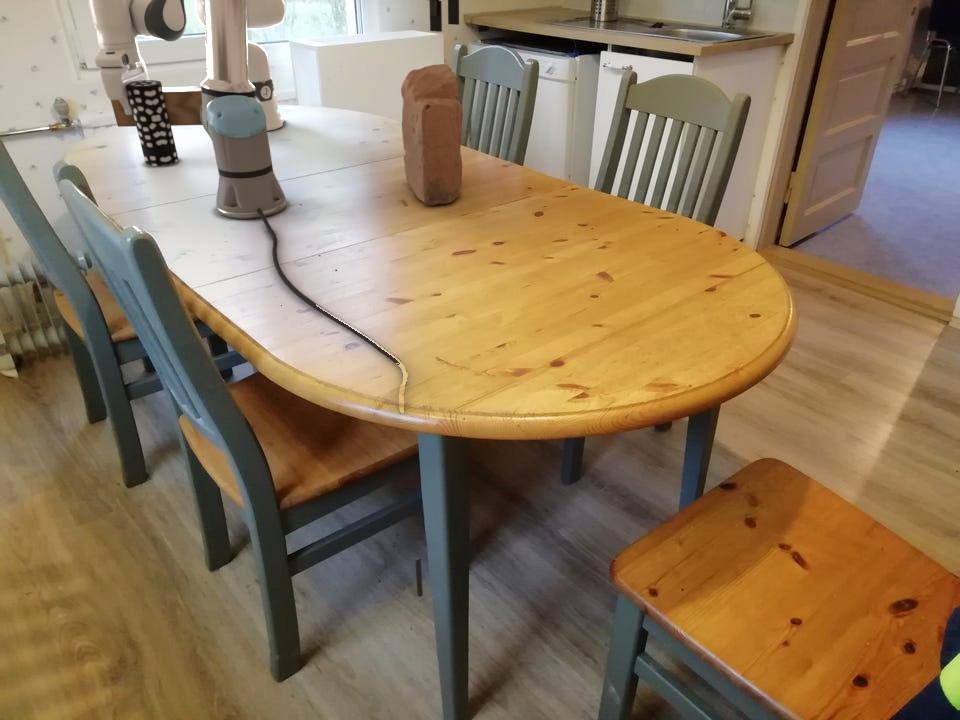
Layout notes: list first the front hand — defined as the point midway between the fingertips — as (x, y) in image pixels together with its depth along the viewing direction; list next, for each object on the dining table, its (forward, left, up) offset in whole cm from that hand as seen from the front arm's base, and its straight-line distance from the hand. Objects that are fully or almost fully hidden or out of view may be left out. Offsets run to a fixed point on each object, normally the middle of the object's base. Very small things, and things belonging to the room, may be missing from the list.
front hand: (445, 27), depth 170 cm
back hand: (+41, +72, -21) cm, 85 cm away
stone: (-19, +13, -34) cm, 41 cm away
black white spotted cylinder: (+36, +68, -24) cm, 81 cm away
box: (+38, +65, -24) cm, 79 cm away
